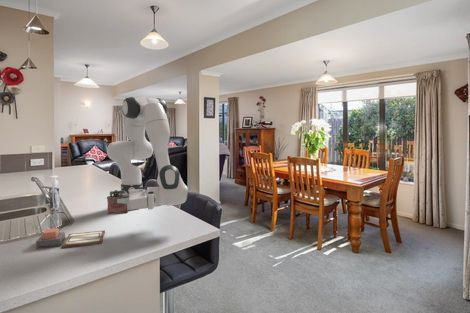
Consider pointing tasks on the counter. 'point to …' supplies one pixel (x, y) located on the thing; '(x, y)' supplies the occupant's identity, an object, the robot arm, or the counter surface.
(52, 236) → the button
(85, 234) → the board
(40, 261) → the counter surface
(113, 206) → the lighter
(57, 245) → the button housing
